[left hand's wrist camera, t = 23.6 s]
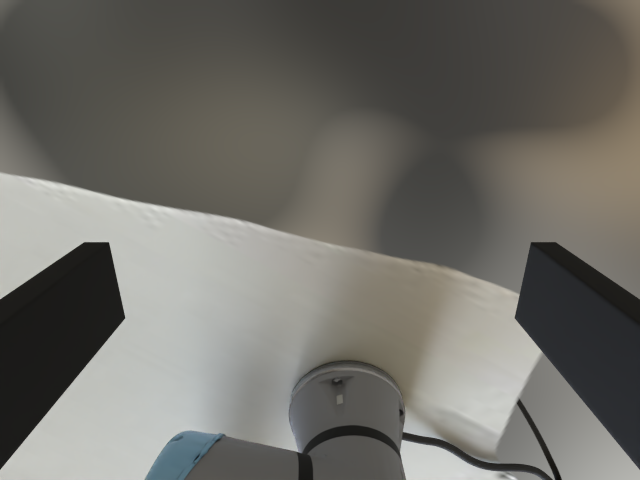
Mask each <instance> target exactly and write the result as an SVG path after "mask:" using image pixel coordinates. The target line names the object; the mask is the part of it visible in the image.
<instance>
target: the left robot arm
mask: <svg viewBox="0 0 640 480" xmlns="http://www.w3.org/2000/svg"><path fill="white" fill-rule="evenodd" d="M124 319H125V315H124V310H123V306H122V301H121V296H120V292H119V287H118V282H117V278H116V273H115V268H114V264H113V259H112V254H111V250H110V245H109V242H84V243H83V244H81V245H80V246H78V247H77V248H75V249H74V250H72V251H71V252H69V253H68V254H66V255H65V256H63V257H62V258H61V259H59V260H58V261H56V262H55V263H53V264H52V265H50V266H49V267H47V268H46V269H44V270H43V271H41V272H40V273H38V274H37V275H36V276H34V277H33V278H31V279H30V280H28V281H27V282H25V283H24V284H22V285H21V286H19V287H18V288H16V289H15V290H13V291H12V292H11V293H9V294H8V295H6V296H5V297H3V298H2V299H0V469H1V468H2V467H3V466H4V464H5V463H6V462H7V461H8V460H9V458H10V457H11V456H12V455H13V454H14V452H15V451H16V450H17V449H18V447H19V446H20V445H21V444H22V443H23V441H24V440H25V439H26V438H27V437H28V435H29V434H30V433H31V432H32V430H33V429H34V428H35V427H36V426H37V424H38V423H39V422H40V421H41V420H42V418H43V417H44V416H45V415H46V414H47V412H48V411H49V410H50V409H51V407H52V406H53V405H54V404H55V403H56V401H57V400H58V399H59V398H60V397H61V395H62V394H63V393H64V392H65V391H66V389H67V388H68V387H69V386H70V384H71V383H72V382H73V381H74V380H75V378H76V377H77V376H78V375H79V374H80V372H81V371H82V370H83V369H84V367H85V366H86V365H87V364H88V363H89V361H90V360H91V359H92V358H93V357H94V355H95V354H96V353H97V352H98V351H99V349H100V348H101V347H102V346H103V344H104V343H105V342H106V341H107V340H108V338H109V337H110V336H111V335H112V334H113V332H114V331H115V330H116V329H117V327H118V326H119V325H120V324H121V323H122V321H123V320H124ZM515 319H516V320H517V321H518V323H519V324H520V325H521V326H522V327H523V329H524V330H525V331H526V332H527V334H528V335H529V336H530V337H531V338H532V340H533V341H534V342H535V343H536V344H537V346H538V347H539V348H540V349H541V351H542V352H543V353H544V354H545V355H546V357H547V358H548V359H549V360H550V361H551V363H552V364H553V365H554V366H555V367H556V369H557V370H558V371H559V372H560V374H561V375H562V376H563V377H564V378H565V380H566V381H567V382H568V383H569V384H570V386H571V387H572V388H573V389H574V391H575V392H576V393H577V394H578V395H579V397H580V398H581V399H582V400H583V401H584V403H585V404H586V405H587V406H588V407H589V409H590V410H591V411H592V412H593V414H594V415H595V416H596V417H597V418H598V420H599V421H600V422H601V423H602V424H603V426H604V427H605V428H606V429H607V431H608V432H609V433H610V434H611V435H612V437H613V438H614V439H615V440H616V441H617V443H618V444H619V445H620V446H621V447H622V449H623V450H624V451H625V452H626V454H627V455H628V456H629V457H630V458H631V460H632V461H633V462H634V463H635V464H636V466H637V467H638V468H639V469H640V299H638V298H637V297H635V296H634V295H632V294H631V293H629V292H628V291H627V290H625V289H623V288H622V287H621V286H619V285H618V284H616V283H615V282H613V281H612V280H610V279H609V278H607V277H606V276H604V275H603V274H602V273H600V272H599V271H597V270H596V269H594V268H593V267H591V266H590V265H588V264H587V263H585V262H584V261H582V260H581V259H579V258H578V257H577V256H575V255H574V254H572V253H571V252H569V251H568V250H566V249H565V248H563V247H562V246H560V245H559V244H557V243H556V242H531V245H530V250H529V254H528V259H527V264H526V268H525V273H524V278H523V282H522V287H521V292H520V296H519V301H518V306H517V310H516V315H515ZM516 403H517V405H518V407H519V408H520V410H521V412H522V413H523V415H524V417H525V418H526V420H527V422H528V424H529V425H530V427H531V429H532V431H533V433H534V435H535V437H536V439H537V441H538V443H539V444H540V447H541V449H542V451H543V453H544V455H545V457H546V459H547V461H548V464H549V466H550V468H551V470H552V473H553V475H554V478H555V480H562V478H561V476H560V473H559V471H558V468H557V466H556V464H555V462H554V460H553V458H552V456H551V454H550V452H549V450H548V447H547V446H546V443H545V442H544V440H543V438H542V436H541V434H540V432H539V430H538V428H537V427H536V425H535V423H534V421H533V420H532V418H531V416H530V415H529V413H528V411H527V410H526V408H525V406H524V405H523V403H522V402H521V400H520V399H519V397H518V399H517V401H516ZM404 420H405V407H404V403H403V399H402V395H401V392H400V389H399V387H398V386H397V384H396V383H395V381H394V380H393V379H392V378H391V377H390V376H389V375H388V374H387V373H385V372H384V371H382V370H381V369H379V368H377V367H375V366H372V365H369V364H366V363H361V362H354V361H340V362H334V363H329V364H326V365H323V366H320V367H318V368H316V369H314V370H312V371H311V372H309V373H308V374H307V375H305V376H304V377H303V378H302V379H301V380H300V381H299V382H298V384H297V385H296V387H295V388H294V390H293V393H292V395H291V399H290V408H289V422H290V426H291V429H292V432H293V434H294V436H295V440H296V444H297V447H298V451H299V453H298V452H295V451H290V450H286V449H281V448H276V447H272V446H267V445H262V444H258V443H253V442H248V441H244V440H239V439H235V438H231V437H226V436H225V434H221V433H219V434H217V435H216V434H209V433H203V432H196V431H184V432H181V433H179V434H177V435H176V436H174V437H173V438H172V439H171V440H170V441H169V442H168V443H167V445H166V446H165V447H164V449H163V450H162V451H161V453H160V454H159V456H158V457H157V459H156V461H155V462H154V464H153V466H152V467H151V469H150V471H149V473H148V475H147V476H146V478H145V480H406V478H405V473H404V469H403V465H402V460H401V455H400V448H401V441H402V440H406V441H410V442H415V443H420V444H426V445H433V446H437V447H441V448H443V449H445V450H448V451H449V452H451V453H453V454H455V455H456V456H458V457H459V458H461V459H462V460H464V461H465V462H467V463H469V464H471V465H473V466H476V467H478V468H482V469H486V470H491V471H519V472H528V473H532V474H535V475H537V476H538V477H540V478H541V479H542V480H552V479H551V478H550V477H549V476H548V475H547V474H546V473H545V472H543V471H542V470H540V469H538V468H536V467H533V466H529V465H524V464H496V463H487V462H483V461H480V460H477V459H475V458H473V457H471V456H469V455H468V454H466V453H464V452H463V451H461V450H460V449H458V448H457V447H455V446H454V445H452V444H450V443H448V442H445V441H443V440H440V439H435V438H430V437H423V436H418V435H413V434H409V433H405V432H403V427H404Z"/></svg>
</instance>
